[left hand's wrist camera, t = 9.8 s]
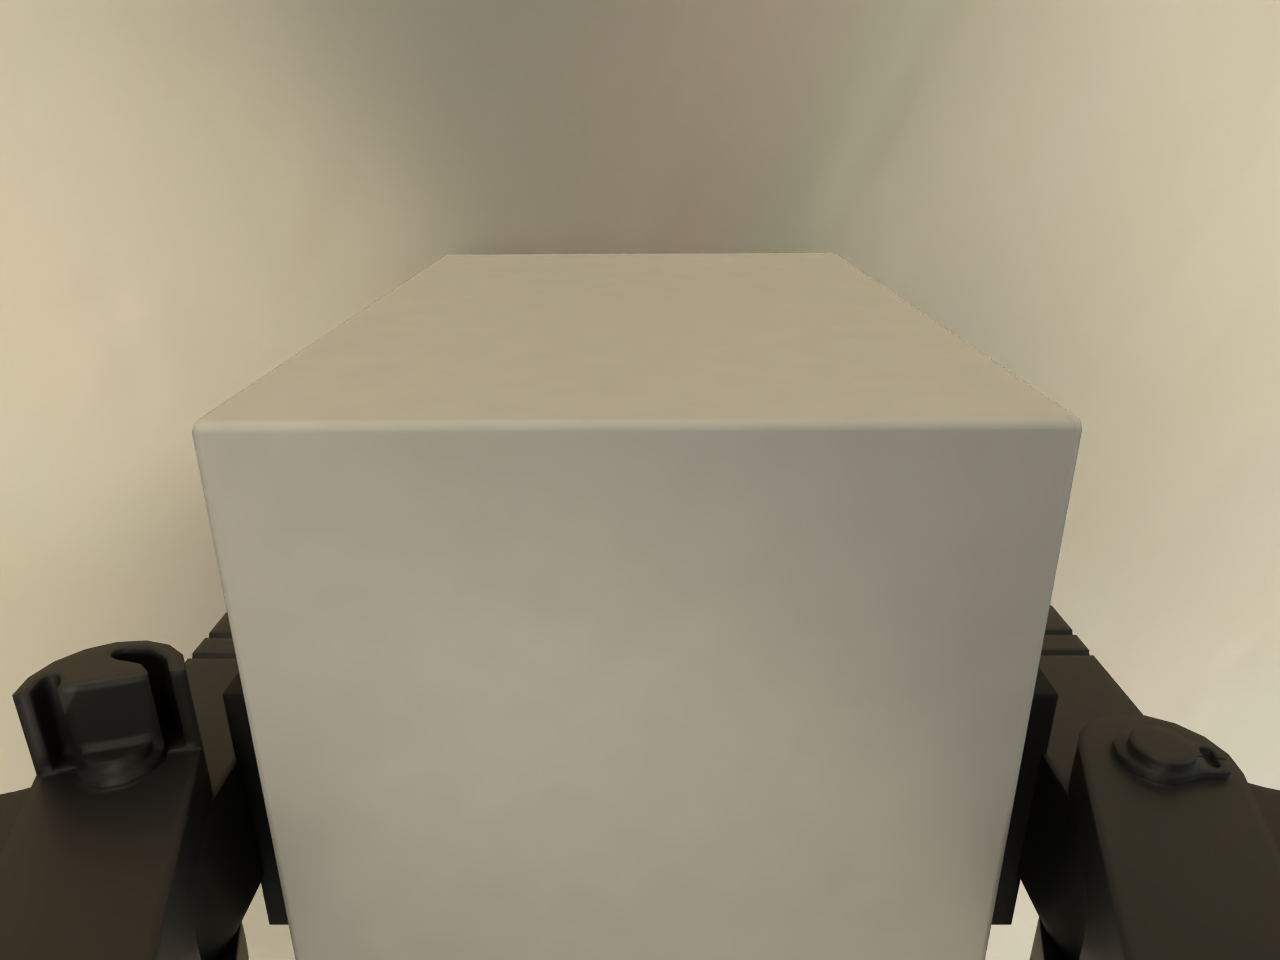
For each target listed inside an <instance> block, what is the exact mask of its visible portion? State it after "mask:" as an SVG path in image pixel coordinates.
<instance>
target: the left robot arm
mask: <svg viewBox="0 0 1280 960" xmlns="http://www.w3.org/2000/svg"><path fill="white" fill-rule="evenodd" d="M12 696H13V699H14V703H15V706H16V709H17V712H18V716H19V719H20V722H21V725H22V728H23V732H24V735H25V738H26V741H27V745H28V748H29V751H30V754H31V758H32V761H33V764H34V767H35V770H36V774H37V776H36V778H35V780H34V782H33V784H32V786H31V788H27V789H23V790H19V791H15V792H10V793H6V794H1V795H0V960H248V959H249V956H248V950H247V944H246V938H245V933H244V929H243V924H242V919H243V917H244V915H245V913H246V911H247V909H248V907H249V905H250V903H251V901H252V899H253V897H254V895H255V893H256V891H257V889H258V887H259V885H260V883H261V885H262V890H263V895H264V899H265V904H266V909H267V914H268V919H269V924H270V925H289V923H288V918H287V913H286V908H285V903H284V898H283V893H282V888H281V882H280V877H279V872H278V867H277V862H276V857H275V852H274V847H273V842H272V837H271V831H270V826H269V821H268V816H267V811H266V806H265V801H264V796H263V791H262V786H261V780H260V775H259V770H258V765H257V760H256V755H255V750H254V745H253V740H252V735H251V729H250V724H249V719H248V714H247V709H246V704H245V699H244V694H243V689H242V684H241V679H240V673H239V668H238V663H237V658H236V653H235V648H234V643H233V638H232V633H231V628H230V622H229V617H228V612H227V613H226V614H225V615H224V616H223V617H222V619H221V620H220V621H219V622H218V623H217V625H216V626H215V627H214V628H213V629H212V631H211V632H210V633H209V638H205V639H204V640H203V641H202V643H201V644H200V645H199V646H198V647H197V649H196V650H195V651H194V652H193V657H192V659H187V661H186V662H184V658H183V655H182V654H181V653H180V652H178V651H177V650H176V649H174V648H173V647H172V646H170V645H167V644H162V643H157V642H151V641H129V642H116V643H111V644H107V645H102V646H98V647H93V648H89V649H85V650H82V651H80V652H77V653H75V654H72V655H70V656H67V657H65V658H62V659H60V660H57V661H55V662H53V663H51V664H50V665H48V666H46V667H45V668H43V669H42V670H40V671H38V672H37V673H35V674H33V675H32V676H30V677H29V678H28V679H27V680H26V681H25V682H24V683H23V684H22V685H21V686H20V687H19V688H18V690H17V691H16V692H15V693H14V694H13V695H12ZM1020 879H1021V881H1022V883H1023V885H1024V887H1025V889H1026V891H1027V893H1028V895H1029V897H1030V899H1031V901H1032V903H1033V905H1034V907H1035V909H1036V911H1037V913H1038V915H1039V920H1038V924H1037V929H1036V933H1035V938H1034V942H1033V947H1032V951H1031V956H1030V960H1280V790H1275V789H1270V788H1265V787H1261V786H1258V785H1254V784H1250V783H1248V782H1247V780H1246V778H1245V776H1244V774H1243V772H1242V771H1241V770H1240V769H1239V767H1238V766H1237V765H1236V763H1235V762H1234V761H1233V759H1232V758H1231V757H1230V756H1229V754H1227V753H1226V752H1225V751H1223V750H1222V749H1220V748H1219V747H1218V746H1216V745H1215V744H1214V743H1212V742H1211V741H1209V740H1208V739H1207V738H1205V737H1204V736H1201V735H1199V734H1197V733H1195V732H1193V731H1190V730H1188V729H1186V728H1184V727H1182V726H1180V725H1177V724H1175V723H1171V722H1168V721H1164V720H1160V719H1156V718H1152V717H1148V716H1145V715H1143V714H1142V713H1141V712H1140V711H1139V709H1138V708H1137V707H1136V706H1135V705H1134V703H1133V702H1132V701H1131V700H1130V699H1129V697H1128V696H1127V695H1126V694H1125V693H1124V691H1123V690H1122V689H1121V688H1120V687H1119V685H1118V684H1117V683H1116V682H1115V681H1114V679H1113V678H1112V677H1111V676H1110V675H1109V673H1108V672H1107V671H1106V670H1105V669H1104V668H1103V666H1102V665H1101V664H1100V663H1099V662H1098V660H1097V659H1096V658H1095V657H1094V656H1093V655H1089V650H1088V648H1087V647H1086V646H1085V645H1084V644H1083V642H1082V641H1081V640H1080V639H1079V638H1078V636H1077V635H1073V634H1072V629H1071V628H1070V627H1069V626H1068V624H1067V623H1066V622H1065V621H1064V620H1063V618H1062V617H1061V616H1060V615H1059V614H1058V613H1057V611H1056V610H1055V609H1054V608H1053V607H1052V606H1051V605H1050V606H1049V612H1048V617H1047V623H1046V628H1045V634H1044V639H1043V645H1042V650H1041V656H1040V661H1039V666H1038V672H1037V677H1036V683H1035V688H1034V694H1033V699H1032V705H1031V710H1030V716H1029V721H1028V726H1027V732H1026V737H1025V743H1024V748H1023V754H1022V759H1021V765H1020V770H1019V776H1018V781H1017V786H1016V792H1015V797H1014V803H1013V808H1012V814H1011V819H1010V825H1009V830H1008V836H1007V841H1006V847H1005V852H1004V857H1003V863H1002V868H1001V874H1000V879H999V885H998V890H997V896H996V901H995V907H994V912H993V917H992V923H991V925H1011V923H1012V918H1013V913H1014V908H1015V903H1016V899H1017V894H1018V889H1019V884H1020Z"/></svg>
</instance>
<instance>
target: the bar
mask: <svg viewBox="0 0 1280 960" xmlns="http://www.w3.org/2000/svg"><path fill="white" fill-rule="evenodd" d="M1081 432H1082V426H1081V422H1080V419H1079V418H1077V417H1076V416H1074V415H1073V414H1071V413H1070V412H1068V411H1067V410H1065V409H1064V408H1062V407H1061V406H1059V405H1058V404H1057V403H1055V402H1054V401H1052V400H1051V399H1049V398H1048V397H1046V396H1045V395H1043V394H1042V393H1040V392H1039V391H1037V390H1036V389H1034V388H1033V387H1031V386H1030V385H1029V384H1027V383H1026V382H1024V381H1023V380H1021V379H1020V378H1018V377H1017V376H1015V375H1014V374H1012V373H1011V372H1009V371H1008V370H1006V369H1005V368H1003V367H1002V366H1000V365H999V364H998V363H996V362H995V361H993V360H992V359H990V358H989V357H987V356H986V355H984V354H983V353H981V352H980V351H978V350H977V349H975V348H974V347H972V346H971V345H970V344H968V343H967V342H965V341H964V340H962V339H961V338H959V337H958V336H956V335H955V334H953V333H952V332H950V331H949V330H947V329H946V328H944V327H943V326H941V325H940V324H939V323H937V322H936V321H934V320H933V319H931V318H930V317H928V316H927V315H925V314H924V313H922V312H921V311H919V310H918V309H916V308H915V307H913V306H912V305H911V304H909V303H908V302H906V301H905V300H903V299H902V298H900V297H899V296H897V295H896V294H894V293H893V292H891V291H890V290H888V289H887V288H885V287H884V286H882V285H881V284H880V283H878V282H877V281H875V280H874V279H872V278H871V277H869V276H868V275H866V274H865V273H863V272H862V271H860V270H859V269H857V268H856V267H854V266H853V265H852V264H850V263H849V262H847V261H846V260H844V259H843V258H841V257H840V256H838V255H837V254H835V253H678V254H453V255H446V256H444V257H442V258H441V259H439V260H438V261H436V262H435V263H433V264H432V265H430V266H429V267H427V268H426V269H424V270H423V271H421V272H420V273H418V274H417V275H415V276H414V277H412V278H411V279H409V280H408V281H406V282H405V283H403V284H402V285H400V286H399V287H397V288H396V289H394V290H393V291H391V292H390V293H388V294H387V295H385V296H384V297H382V298H381V299H379V300H378V301H376V302H375V303H373V304H372V305H370V306H369V307H367V308H366V309H364V310H363V311H361V312H360V313H358V314H357V315H355V316H354V317H352V318H351V319H349V320H348V321H346V322H345V323H343V324H342V325H340V326H338V327H337V328H335V329H334V330H332V331H331V332H329V333H328V334H326V335H325V336H323V337H322V338H320V339H319V340H317V341H316V342H314V343H313V344H311V345H310V346H308V347H307V348H305V349H304V350H302V351H301V352H299V353H298V354H296V355H295V356H293V357H292V358H290V359H289V360H287V361H286V362H284V363H283V364H281V365H280V366H278V367H277V368H275V369H274V370H272V371H271V372H269V373H268V374H266V375H265V376H263V377H262V378H260V379H259V380H257V381H256V382H254V383H253V384H251V385H250V386H248V387H247V388H245V389H244V390H242V391H241V392H239V393H238V394H236V395H235V396H233V397H232V398H230V399H229V400H227V401H226V402H224V403H223V404H221V405H220V406H218V407H217V408H215V409H214V410H212V411H211V412H209V413H208V414H206V415H205V416H203V417H202V418H200V419H199V420H197V421H196V422H194V425H193V431H192V434H193V439H194V444H195V449H196V454H197V459H198V464H199V470H200V475H201V480H202V485H203V490H204V495H205V500H206V505H207V510H208V515H209V520H210V526H211V531H212V536H213V541H214V546H215V551H216V556H217V561H218V566H219V571H220V577H221V582H222V587H223V592H224V597H225V602H226V607H227V612H228V617H229V622H230V628H231V633H232V638H233V643H234V648H235V653H236V658H237V663H238V668H239V673H240V679H241V684H242V689H243V694H244V699H245V704H246V709H247V714H248V719H249V724H250V729H251V735H252V740H253V745H254V750H255V755H256V760H257V765H258V770H259V775H260V780H261V786H262V791H263V796H264V801H265V806H266V811H267V816H268V821H269V826H270V831H271V837H272V842H273V847H274V852H275V857H276V862H277V867H278V872H279V877H280V882H281V888H282V893H283V898H284V903H285V908H286V913H287V918H288V923H289V928H290V933H291V939H292V944H293V949H294V954H295V959H296V960H985V956H986V950H987V945H988V939H989V934H990V928H991V923H992V917H993V912H994V907H995V901H996V896H997V890H998V885H999V879H1000V874H1001V868H1002V863H1003V857H1004V852H1005V847H1006V841H1007V836H1008V830H1009V825H1010V819H1011V814H1012V808H1013V803H1014V797H1015V792H1016V786H1017V781H1018V776H1019V770H1020V765H1021V759H1022V754H1023V748H1024V743H1025V737H1026V732H1027V726H1028V721H1029V716H1030V710H1031V705H1032V699H1033V694H1034V688H1035V683H1036V677H1037V672H1038V666H1039V661H1040V656H1041V650H1042V645H1043V639H1044V634H1045V628H1046V623H1047V617H1048V612H1049V606H1050V601H1051V596H1052V590H1053V585H1054V579H1055V574H1056V568H1057V563H1058V557H1059V552H1060V546H1061V541H1062V536H1063V530H1064V525H1065V519H1066V514H1067V508H1068V503H1069V497H1070V492H1071V486H1072V481H1073V475H1074V470H1075V465H1076V459H1077V454H1078V448H1079V443H1080V437H1081Z"/></svg>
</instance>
